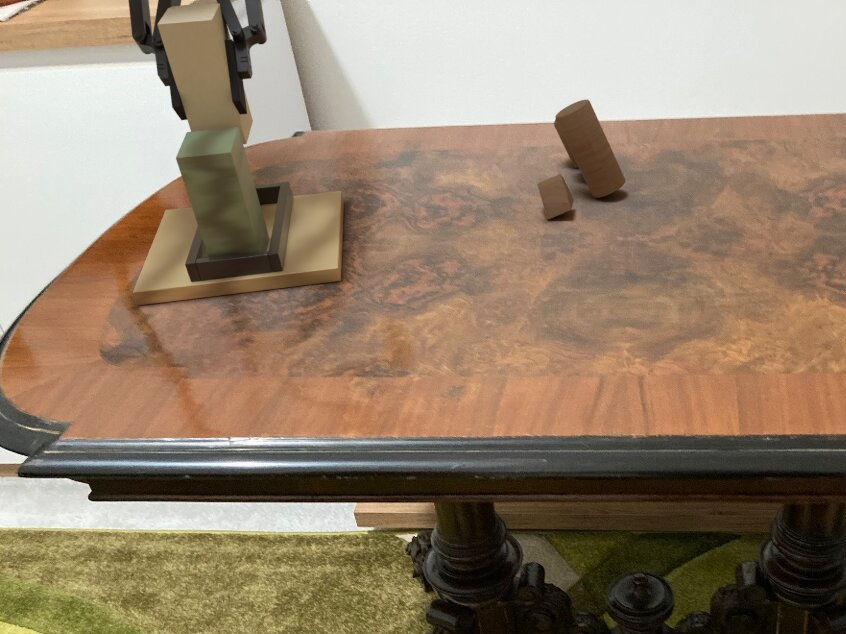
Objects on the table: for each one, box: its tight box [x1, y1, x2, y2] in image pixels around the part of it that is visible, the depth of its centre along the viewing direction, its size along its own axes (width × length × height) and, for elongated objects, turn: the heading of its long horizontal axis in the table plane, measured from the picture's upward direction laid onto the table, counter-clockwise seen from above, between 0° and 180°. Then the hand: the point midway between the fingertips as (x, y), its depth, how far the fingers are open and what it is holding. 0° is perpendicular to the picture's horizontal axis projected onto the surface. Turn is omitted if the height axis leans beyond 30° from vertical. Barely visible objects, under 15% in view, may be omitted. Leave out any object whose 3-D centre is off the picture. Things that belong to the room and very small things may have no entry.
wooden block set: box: [536, 99, 626, 220], centre depth 108 cm, size 18×9×10 cm, turn 176°
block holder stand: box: [132, 127, 345, 306], centre depth 97 cm, size 20×20×14 cm
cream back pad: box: [157, 2, 254, 145], centre depth 93 cm, size 5×7×12 cm
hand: (210, 110), depth 92 cm, fingers closed on cream back pad, 5 cm apart
